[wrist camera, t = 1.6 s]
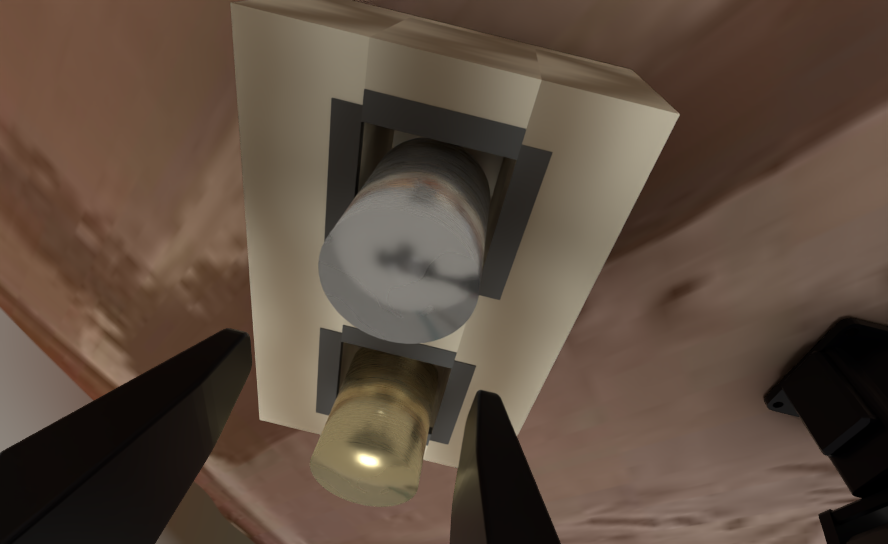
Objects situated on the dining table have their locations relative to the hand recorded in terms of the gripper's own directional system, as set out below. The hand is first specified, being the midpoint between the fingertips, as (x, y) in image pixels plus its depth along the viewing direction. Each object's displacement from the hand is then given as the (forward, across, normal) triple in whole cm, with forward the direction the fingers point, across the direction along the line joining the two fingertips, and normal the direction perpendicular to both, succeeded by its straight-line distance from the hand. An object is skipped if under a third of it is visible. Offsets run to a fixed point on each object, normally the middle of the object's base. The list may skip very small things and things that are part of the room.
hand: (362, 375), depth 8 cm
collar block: (+13, 0, +4) cm, 14 cm away
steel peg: (+9, 0, 0) cm, 9 cm away
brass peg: (+9, 0, +9) cm, 13 cm away
